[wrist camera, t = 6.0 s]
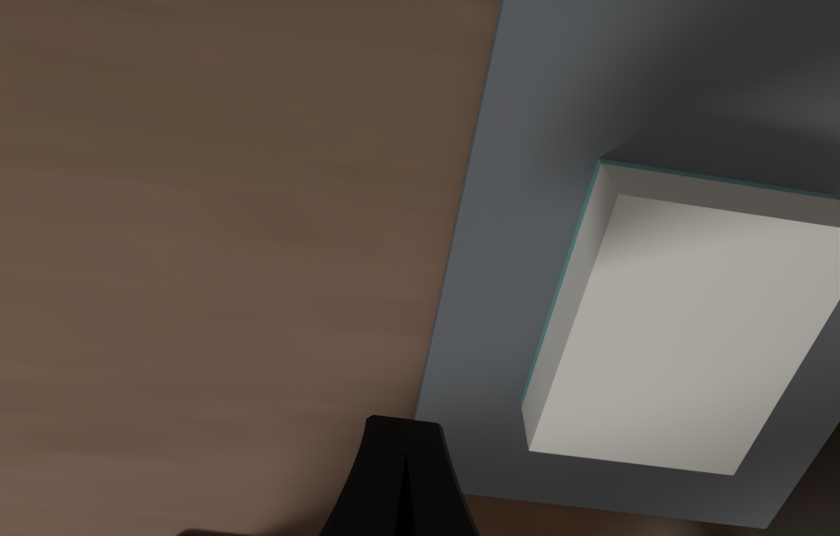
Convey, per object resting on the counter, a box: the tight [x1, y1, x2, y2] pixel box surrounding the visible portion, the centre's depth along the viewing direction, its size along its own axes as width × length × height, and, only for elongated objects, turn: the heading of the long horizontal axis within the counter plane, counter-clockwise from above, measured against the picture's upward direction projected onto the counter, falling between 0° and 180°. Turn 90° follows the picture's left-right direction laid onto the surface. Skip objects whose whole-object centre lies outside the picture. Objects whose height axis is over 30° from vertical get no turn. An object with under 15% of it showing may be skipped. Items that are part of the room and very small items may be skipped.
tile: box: [520, 158, 840, 475], centre depth 17 cm, size 8×2×6 cm
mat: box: [414, 0, 840, 529], centre depth 18 cm, size 17×13×1 cm
